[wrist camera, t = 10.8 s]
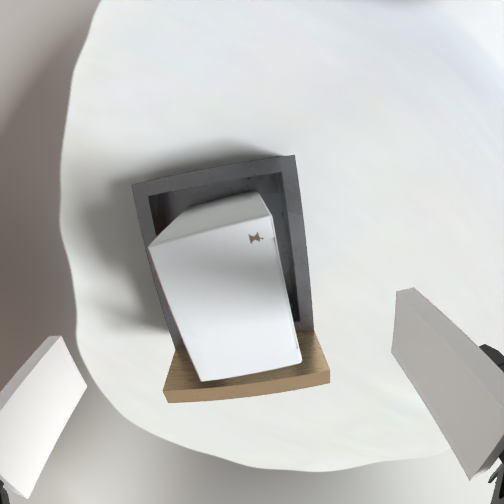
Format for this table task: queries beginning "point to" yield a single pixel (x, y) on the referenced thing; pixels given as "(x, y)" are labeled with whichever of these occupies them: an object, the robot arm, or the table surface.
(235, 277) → the small box
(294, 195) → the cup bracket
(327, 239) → the table surface
